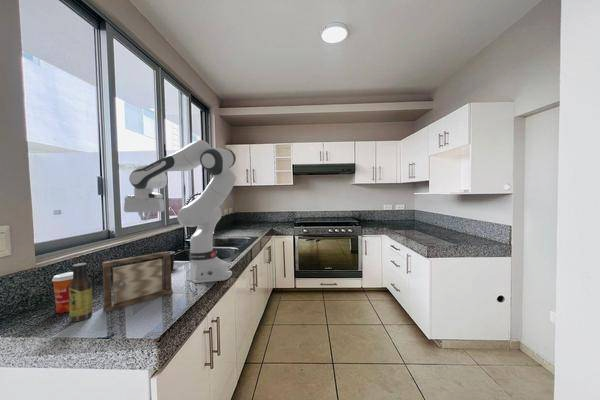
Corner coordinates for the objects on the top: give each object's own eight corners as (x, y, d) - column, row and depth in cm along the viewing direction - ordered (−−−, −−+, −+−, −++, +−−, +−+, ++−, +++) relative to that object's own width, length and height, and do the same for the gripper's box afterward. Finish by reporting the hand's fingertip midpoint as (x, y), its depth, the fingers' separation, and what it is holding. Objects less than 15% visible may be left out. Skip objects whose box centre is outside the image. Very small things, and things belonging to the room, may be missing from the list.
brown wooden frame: (168, 289, 115) (166, 250, 115) (172, 293, 111) (171, 252, 111) (103, 307, 98) (101, 261, 97) (106, 312, 94) (104, 264, 93)
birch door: (164, 288, 112) (163, 258, 112) (166, 290, 110) (165, 259, 110) (113, 302, 98) (112, 267, 98) (115, 304, 96) (114, 269, 96)
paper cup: (48, 312, 94) (46, 276, 94) (72, 304, 101) (71, 270, 101) (60, 316, 91) (59, 278, 91) (84, 307, 99) (83, 272, 98)
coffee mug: (178, 268, 150) (178, 251, 150) (167, 272, 142) (167, 255, 142) (162, 267, 153) (162, 251, 153) (151, 271, 145) (150, 254, 145)
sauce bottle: (68, 318, 89) (66, 264, 89) (90, 312, 94) (89, 260, 93) (71, 324, 85) (69, 267, 85) (94, 317, 90) (92, 263, 89)
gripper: (120, 195, 131) (121, 221, 131) (159, 194, 132) (160, 220, 132) (128, 195, 137) (129, 220, 138) (165, 194, 138) (166, 219, 138)
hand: (144, 220), depth 135 cm, fingers closed
